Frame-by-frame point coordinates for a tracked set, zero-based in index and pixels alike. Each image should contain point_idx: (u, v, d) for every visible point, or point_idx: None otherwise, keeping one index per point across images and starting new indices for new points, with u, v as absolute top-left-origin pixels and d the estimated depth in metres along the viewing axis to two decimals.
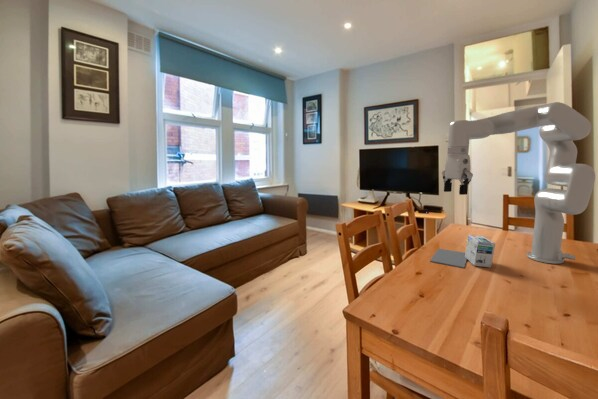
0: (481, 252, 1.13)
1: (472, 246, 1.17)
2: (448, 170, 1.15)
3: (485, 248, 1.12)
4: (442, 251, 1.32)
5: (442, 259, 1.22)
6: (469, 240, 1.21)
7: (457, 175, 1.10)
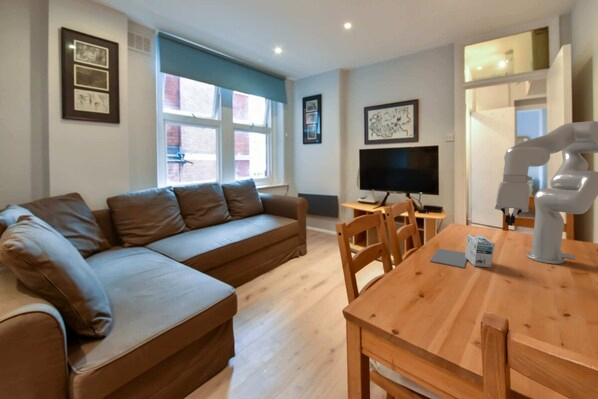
0: (481, 252, 1.13)
1: (472, 246, 1.17)
2: (507, 199, 1.08)
3: (485, 248, 1.12)
4: (442, 251, 1.32)
5: (442, 259, 1.22)
6: (469, 240, 1.21)
7: (523, 204, 1.05)
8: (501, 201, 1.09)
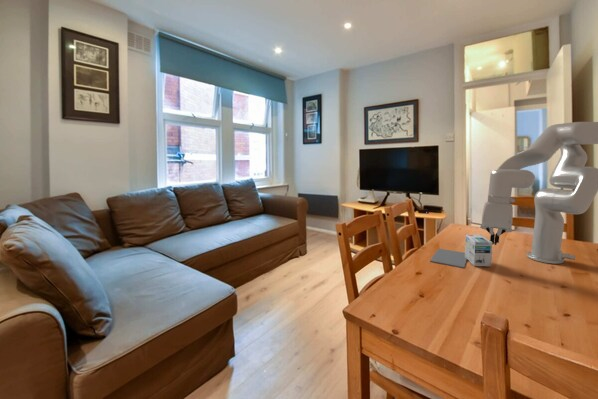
0: (479, 252, 1.13)
1: (470, 246, 1.17)
2: (492, 219, 1.11)
3: (483, 248, 1.12)
4: (442, 251, 1.32)
5: (442, 259, 1.22)
6: (467, 240, 1.21)
7: (507, 225, 1.09)
8: (486, 221, 1.13)
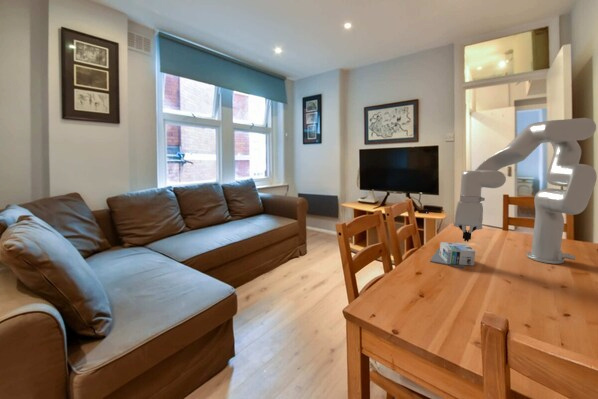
0: (458, 260, 1.15)
1: None
2: (463, 217, 1.18)
3: (454, 257, 1.16)
4: None
5: (442, 259, 1.22)
6: None
7: (477, 223, 1.15)
8: (458, 219, 1.19)
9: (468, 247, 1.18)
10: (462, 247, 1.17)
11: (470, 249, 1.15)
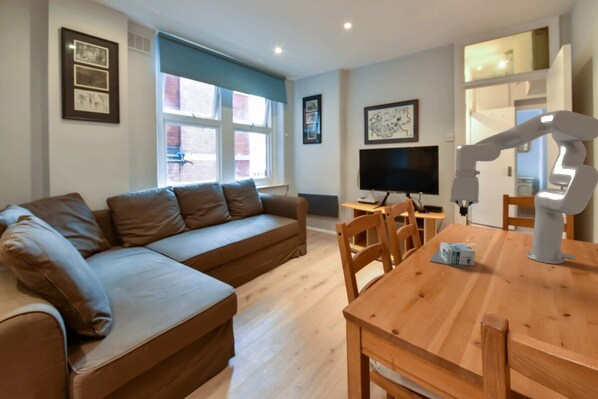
0: (458, 260, 1.15)
1: None
2: (459, 192, 1.17)
3: (454, 257, 1.16)
4: None
5: (442, 259, 1.22)
6: None
7: (473, 196, 1.15)
8: (454, 194, 1.19)
9: (468, 247, 1.18)
10: (462, 247, 1.17)
11: (470, 249, 1.15)
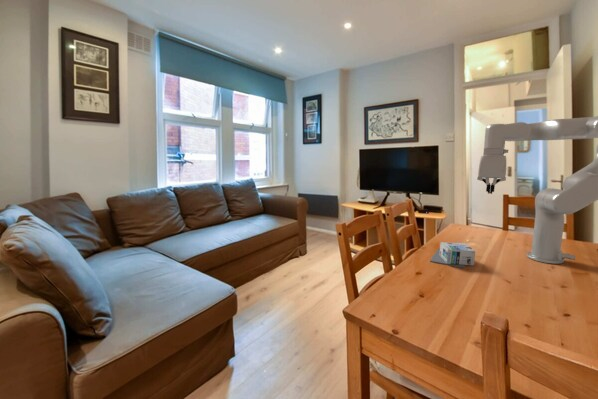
0: (458, 260, 1.15)
1: None
2: (487, 170, 1.22)
3: (454, 257, 1.16)
4: None
5: (442, 259, 1.22)
6: None
7: (501, 174, 1.19)
8: (482, 172, 1.23)
9: (468, 247, 1.18)
10: (462, 247, 1.17)
11: (470, 249, 1.15)
